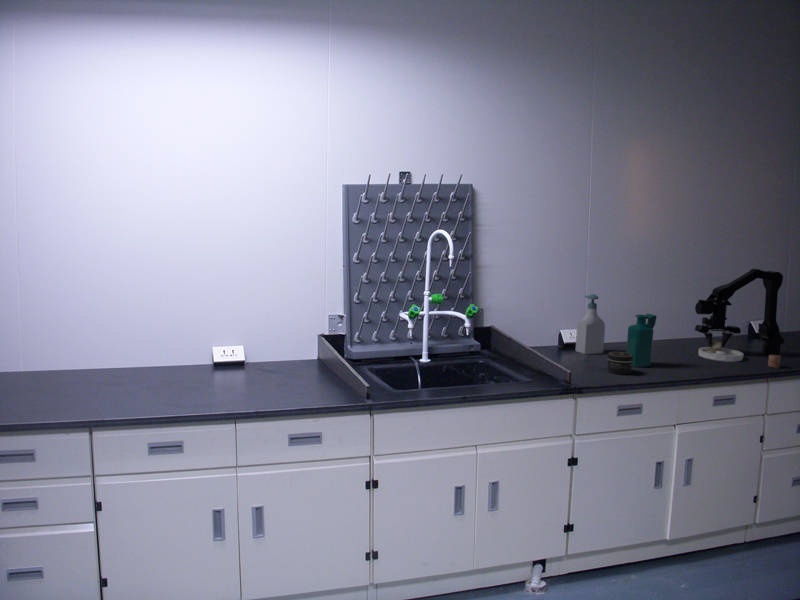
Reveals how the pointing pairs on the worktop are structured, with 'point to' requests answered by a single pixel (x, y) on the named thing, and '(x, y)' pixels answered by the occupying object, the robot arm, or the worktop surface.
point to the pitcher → (641, 340)
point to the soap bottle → (590, 331)
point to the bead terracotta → (774, 361)
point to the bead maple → (715, 346)
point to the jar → (619, 363)
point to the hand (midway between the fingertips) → (715, 347)
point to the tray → (721, 354)
